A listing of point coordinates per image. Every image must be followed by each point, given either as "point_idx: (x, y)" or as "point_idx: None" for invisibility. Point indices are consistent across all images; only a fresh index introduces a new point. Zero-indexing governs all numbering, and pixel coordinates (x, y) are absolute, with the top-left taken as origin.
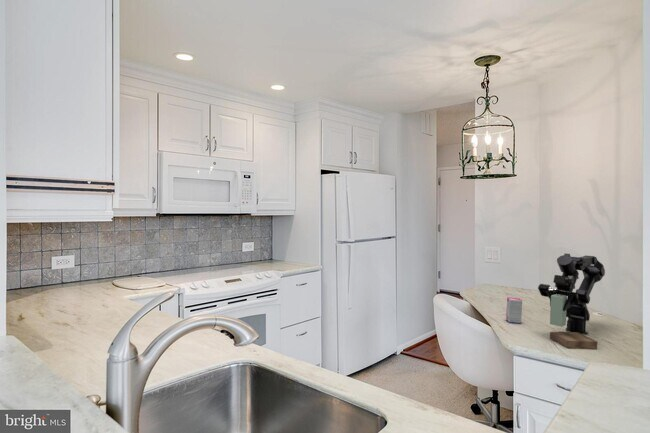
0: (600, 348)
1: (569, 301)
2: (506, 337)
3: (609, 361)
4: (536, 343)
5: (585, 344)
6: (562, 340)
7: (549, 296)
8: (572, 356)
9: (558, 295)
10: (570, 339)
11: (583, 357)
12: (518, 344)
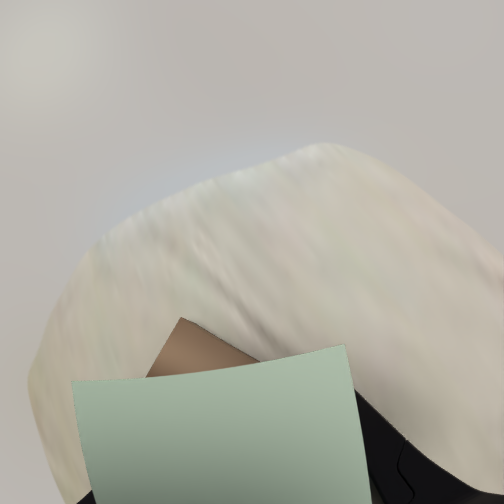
0: None
1: (90, 491)
2: (418, 198)
3: (59, 318)
4: (308, 252)
5: None
6: (219, 340)
7: (451, 474)
8: (138, 244)
9: None
10: (184, 360)
11: (112, 273)
12: (327, 168)
